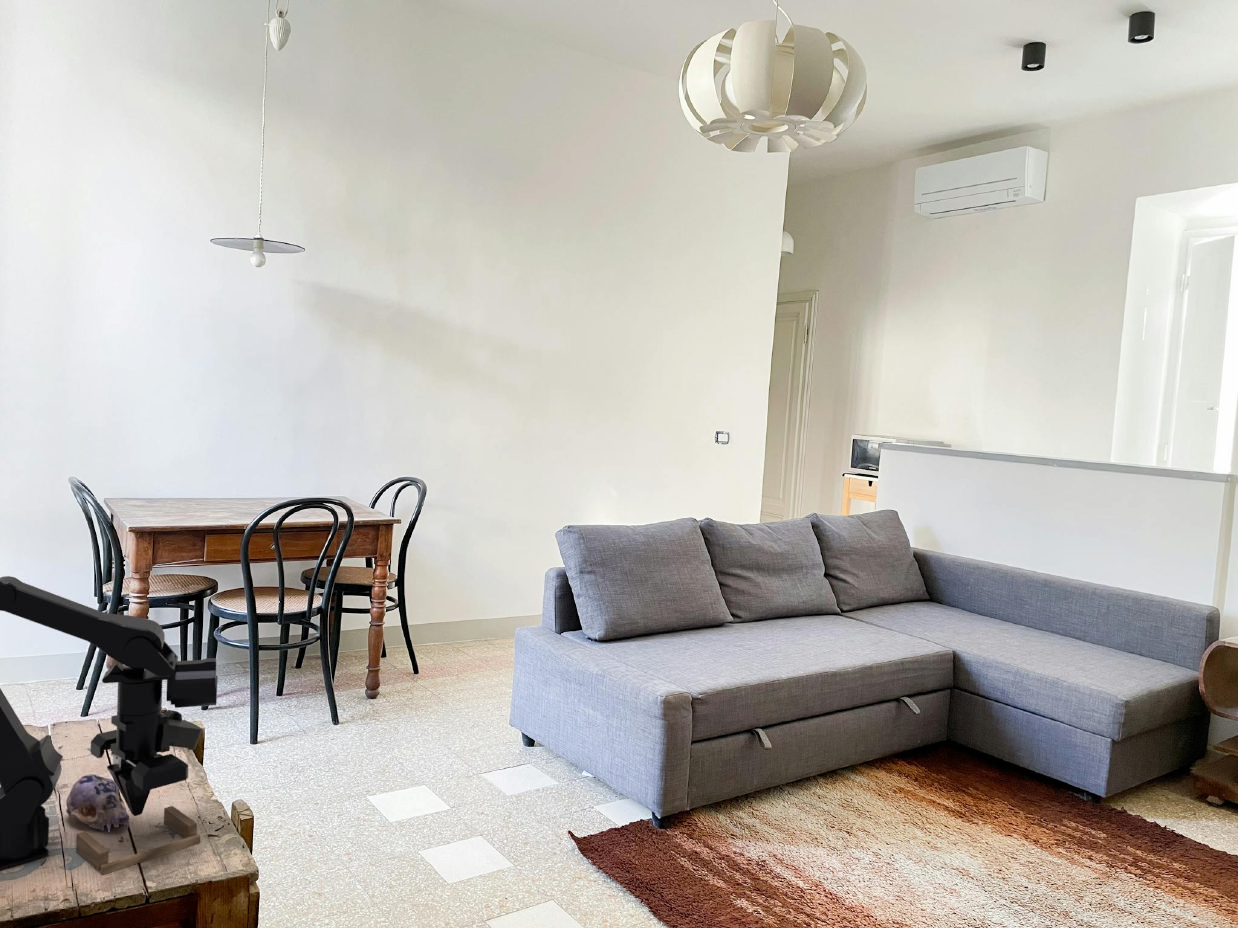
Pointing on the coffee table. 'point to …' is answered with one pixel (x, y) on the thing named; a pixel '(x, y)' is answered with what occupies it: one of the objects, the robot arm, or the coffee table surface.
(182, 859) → the coffee table surface
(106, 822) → the skull
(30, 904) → the coffee table surface
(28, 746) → the robot arm
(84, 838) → the rail notch
